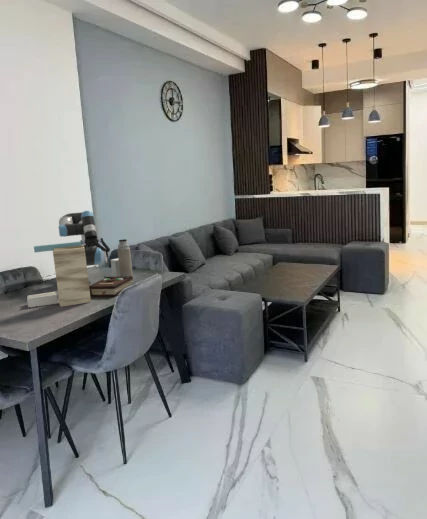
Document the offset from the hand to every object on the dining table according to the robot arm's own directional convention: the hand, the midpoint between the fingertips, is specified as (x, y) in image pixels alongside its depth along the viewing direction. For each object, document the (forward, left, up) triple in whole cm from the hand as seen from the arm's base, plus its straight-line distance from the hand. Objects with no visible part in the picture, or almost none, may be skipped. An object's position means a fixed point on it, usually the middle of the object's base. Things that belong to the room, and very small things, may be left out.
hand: (95, 263), depth 269 cm
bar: (+27, -21, +14) cm, 36 cm away
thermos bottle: (-7, +19, -16) cm, 26 cm away
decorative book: (+13, +7, -17) cm, 22 cm away
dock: (+19, -32, -16) cm, 40 cm away
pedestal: (+27, -16, -16) cm, 35 cm away
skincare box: (-16, +16, -16) cm, 28 cm away
